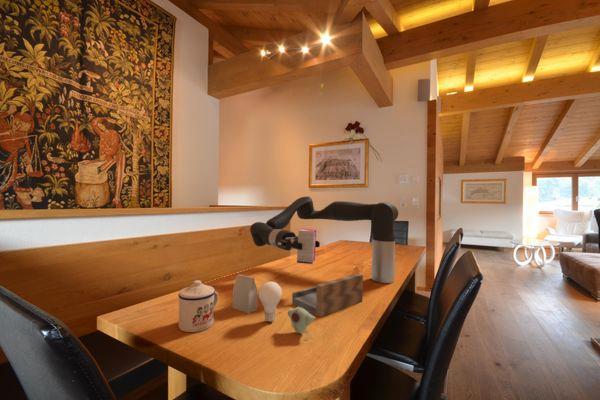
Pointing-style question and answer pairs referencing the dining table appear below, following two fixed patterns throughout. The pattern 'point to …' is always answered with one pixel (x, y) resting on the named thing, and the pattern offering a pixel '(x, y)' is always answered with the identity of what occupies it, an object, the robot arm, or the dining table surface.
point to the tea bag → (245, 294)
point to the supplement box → (306, 246)
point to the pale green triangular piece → (300, 319)
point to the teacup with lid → (196, 307)
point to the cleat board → (330, 295)
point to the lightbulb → (270, 299)
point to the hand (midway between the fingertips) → (310, 245)
